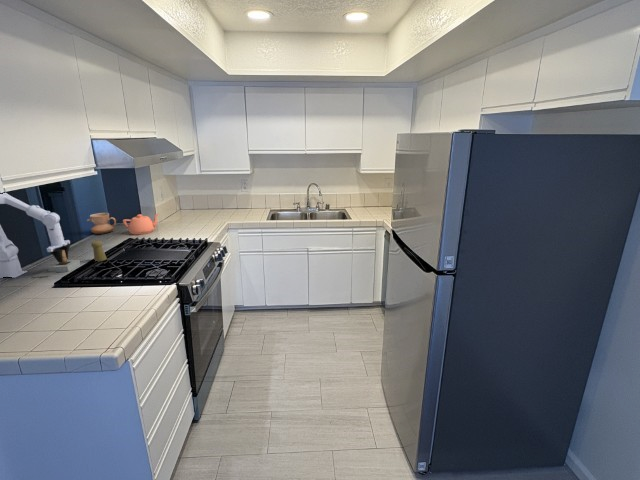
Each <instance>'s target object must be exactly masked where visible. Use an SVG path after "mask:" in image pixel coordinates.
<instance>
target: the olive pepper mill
mask: <svg viewBox="0 0 640 480" xmlns="http://www.w3.org/2000/svg"><path fill="white" fill-rule="evenodd" d="M91 247H92V248H93V258H94V259H93V261H94V260H95V261H94V262H96V261H98V262H103V261H106V260H107V259H108V258H107V255H106V253H105V251H104V248H103V242H102V241H100V240H95V241H92V242H91Z"/></svg>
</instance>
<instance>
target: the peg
mask: <svg viewBox="0 0 640 480" xmlns="http://www.w3.org/2000/svg"><path fill="white" fill-rule="evenodd" d="M62 258H63V262H59V264H60V265H66V264H68V261H67V260H68V259H67V258H66V254H65V250H62Z"/></svg>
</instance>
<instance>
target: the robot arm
mask: <svg viewBox="0 0 640 480" xmlns="http://www.w3.org/2000/svg"><path fill="white" fill-rule="evenodd" d="M4 204H6V205H9V206H11V207H14V208H16V209H19V210H21V211H24V212H25V213H26V215H27V216H29V217H32V218H34V219H36V220H38V221H39V222H41V223H42V224H43V225H44V226H45V227H46V230H47V231H46V232H47V233H48V237H49V241H50V245H49V246H48V247H47V248H46V251H47V253H49V254H51V255H52V256H53V257H54V258H55V260H56V261H57V262H63V258H62V250H65V254H66V258H67V260H68V259H69V251H70V247H71V245H70V244H71V240H70V239H66V240H65V237H64V234H63V231H62V226H61V224H60V220H61V217H60V215H59V214H58V213H57V212H54V211H53V212H51V211H50V210H45V209H43V208H42V207H41V206H39V205H34V204H32V205H29V204H27V203H25V202H24V201H22V200H20V199H17V198H16V197H13V196H12V195H10V194H8V193H7V192H5V193H3V194H0V205H4ZM18 253H19V248H18V247H17V246H16V245H15V244H14V243H13V241H12V240H10V239H9V238H8V237H7V235H6V233H5V232H4V229H3V227H2V225H1V224H0V279H4V278H3V277H6V276H8V277H12V278H11V279H13V278H14V279H15V278H17V277H20V276H22V275H23V274H25V273H28V270H23V269H22V266H21V263H20V260H19V257H18Z"/></svg>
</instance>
